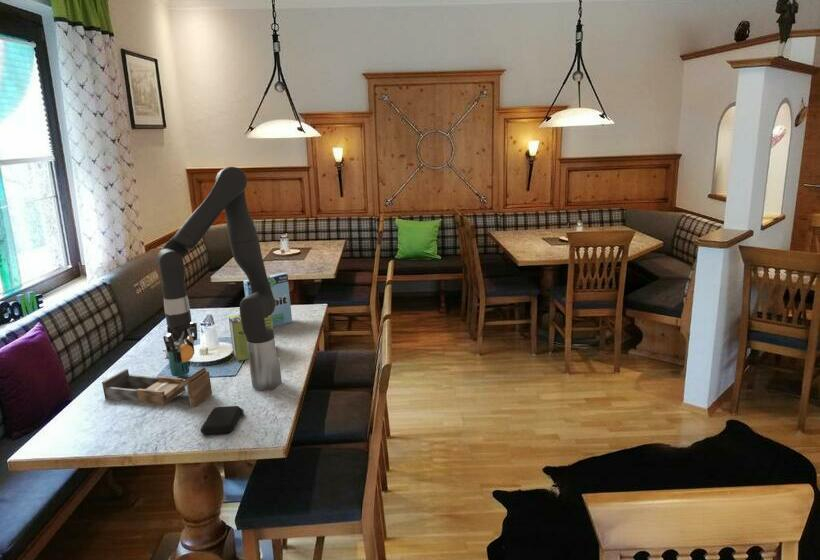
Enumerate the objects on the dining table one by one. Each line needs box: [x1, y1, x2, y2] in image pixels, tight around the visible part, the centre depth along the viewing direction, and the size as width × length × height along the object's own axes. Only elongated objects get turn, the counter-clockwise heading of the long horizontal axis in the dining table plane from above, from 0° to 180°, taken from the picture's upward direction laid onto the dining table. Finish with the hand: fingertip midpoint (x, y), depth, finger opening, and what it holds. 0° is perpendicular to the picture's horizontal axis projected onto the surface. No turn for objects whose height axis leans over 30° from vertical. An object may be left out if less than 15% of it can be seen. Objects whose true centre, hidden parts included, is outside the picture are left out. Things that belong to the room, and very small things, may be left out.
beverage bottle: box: [166, 325, 190, 378], centre depth 210 cm, size 6×7×20 cm
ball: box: [176, 343, 195, 362], centre depth 191 cm, size 6×6×6 cm
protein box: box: [228, 314, 277, 362], centre depth 231 cm, size 10×15×16 cm
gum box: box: [243, 272, 293, 328], centre depth 261 cm, size 20×5×23 cm, turn 127°
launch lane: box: [101, 367, 213, 408], centre depth 197 cm, size 36×11×10 cm, turn 74°
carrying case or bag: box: [199, 405, 245, 436], centre depth 177 cm, size 11×3×15 cm
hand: (184, 358), depth 191 cm, fingers closed on ball, 6 cm apart
